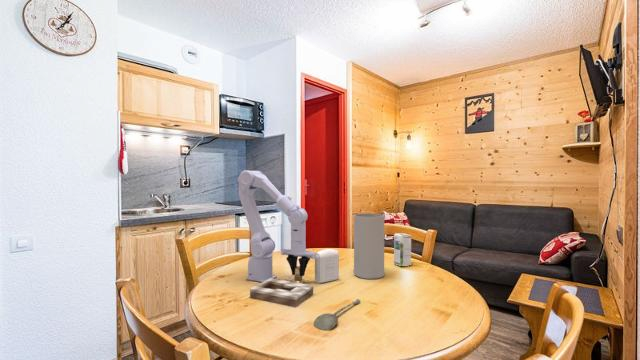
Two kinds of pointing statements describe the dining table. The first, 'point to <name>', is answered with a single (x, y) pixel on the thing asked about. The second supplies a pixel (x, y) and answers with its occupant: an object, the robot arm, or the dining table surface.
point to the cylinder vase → (369, 245)
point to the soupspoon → (330, 319)
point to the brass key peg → (298, 276)
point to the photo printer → (326, 265)
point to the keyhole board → (278, 299)
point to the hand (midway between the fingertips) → (298, 275)
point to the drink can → (402, 249)
